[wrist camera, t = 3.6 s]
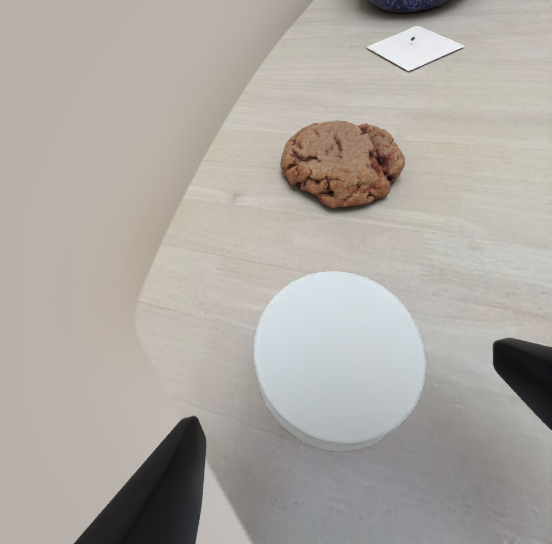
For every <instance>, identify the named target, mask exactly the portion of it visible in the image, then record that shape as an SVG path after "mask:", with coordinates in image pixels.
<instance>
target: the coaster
mask: <svg viewBox="0 0 552 544" xmlns="http://www.w3.org/2000/svg"><path fill="white" fill-rule="evenodd" d="M462 47H464V45H462V44H459V43H457V42H455V41H452V40H450V39H448V38H445V37H443V36H441V35H438V34H436V33H434V32H432V31H429V30H427V29H425V28H422V27H420V26H418V25H417V26H415V27H412V28H410V29H408V30H405V31H403V32H401V33H398V34H396V35H393V36H391V37H389V38H386V39H384V40H382V41H379V42H377V43H375V44H372V45H370V46H367V48H369V49H370V50H372V51H374V52H376V53H377V54H379V55H381V56H383V57H384V58H386V59H388V60H390V61H391V62H393V63H395V64H397V65H399V66H400V67H402V68H404V69H406V70H407V71H410V70H413V69H415V68H417V67H419V66H422V65H424V64H426V63H428V62H431V61H433V60H435V59H437V58H440V57H442V56H444V55H446V54H449V53H451V52H453V51H455V50H458V49H460V48H462Z"/></svg>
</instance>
